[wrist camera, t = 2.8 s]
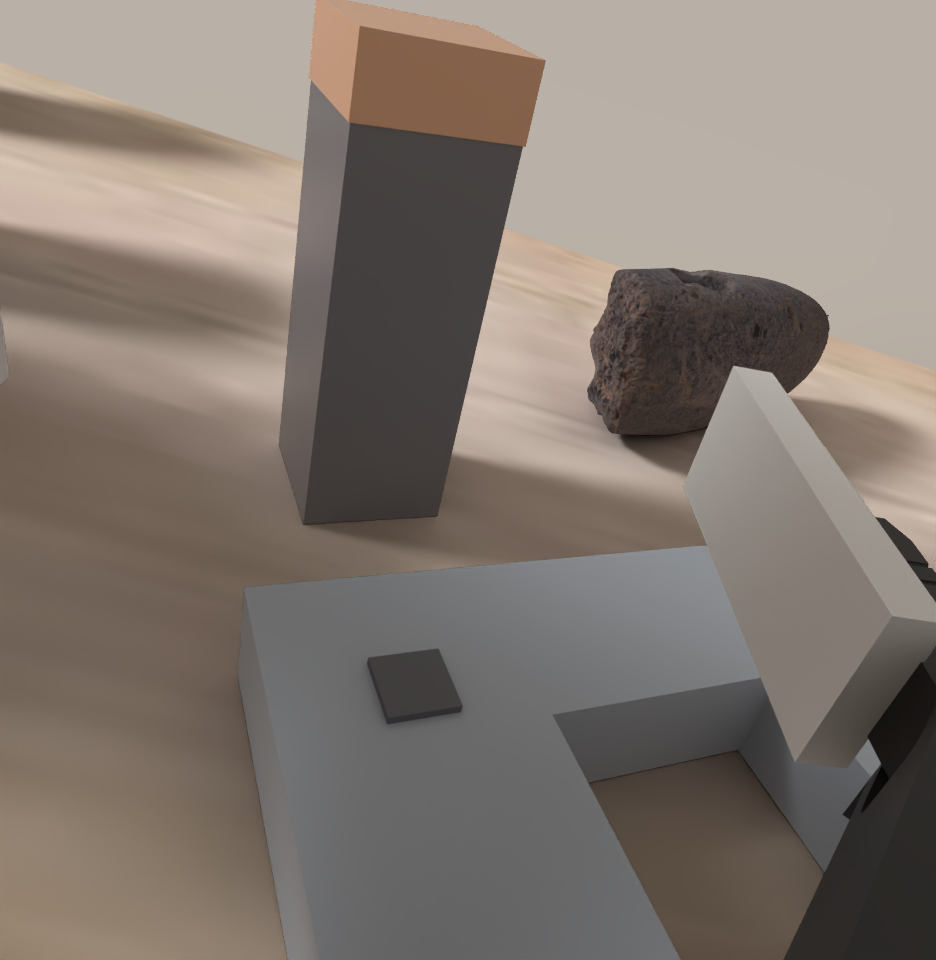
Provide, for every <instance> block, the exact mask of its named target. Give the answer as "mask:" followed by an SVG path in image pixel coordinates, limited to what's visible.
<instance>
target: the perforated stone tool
mask: <svg viewBox="0 0 936 960" xmlns="http://www.w3.org/2000/svg"><path fill="white" fill-rule="evenodd" d="M593 331H594V334H593V335H592V337H591V339H590V347H591V352H592V356H593V359H594V363H595V374H594V378H593V380H592V382H591V383H590V385H589V387H588V390H587V392H588V398H589V400H590V401H591V402H592V403H593V404H594V405H595V408H596V409H597V413H598V414H599V415H602V417H603V420H604V423H605V425H606V426H607V428H608V430H609V431H610V432H611V433H616V434H633V435H673V434H678V433H681V432H688V431H692V430H696V429H701V428H705V427H708V425H709V423H710V421H711V418H712V416H713V413H714V411H715V409H716V406H717V404H718V402H719V399H720V397H721V394H722V392H723V390H724V387H725V385H726V382H727V380H728V378H729V375H730V373H731V371H732V368H733V366H738V367H743V368H748V369H754V370H759V371H765V372H770V373H773V375H774V376H775V377H776V379H777V380H778V382H779V383H780V384H781V386H782V387H783V389H784V390H785V392H786V393H787V394H788V393H789V392H790V391H791V390H793V389H794V388H795V387H796V386H797V385H798V384H800V383H801V382H802V381H803V380H804V379H805V378H806V377H807V376H808V374H809V373H810V372H811V371H812V370H813V368H814V367H815V366H816V364H817V363H818V361H819V359H820V358H821V356H822V353H823V351H824V349H825V346H826V344H827V339H828V332H829V322H828V315H826V313H825V311H824V310H823V309H822V307H821V306H820V305H819V304H818V303H817V302H816V301H815V300H814V299H812V298H811V297H810V296H808V295H806V294H805V293H803V292H801V291H799V290H797V289H794V288H792V287H790V286H787V285H785V284H782V283H779V282H776V281H773V280H769V279H765V278H760V277H753V276H747V275H738V274H731V273H726V272H719V271H713V270H703V271H696V272H688V271H683V270H679V269H675V268H663V269H622V270H618V271H616V273H615V275H614V277H613V280H612V283H611V288H610V291H609V294H608V304H607V307H606V309H605V310H604V314H603V315H602V317H601V319H600V321H599V323H598V324H597V326H596V327H595V328H594V330H593Z"/></svg>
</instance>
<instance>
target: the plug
mask: <svg viewBox="0 0 936 960" xmlns="http://www.w3.org/2000/svg"><path fill="white" fill-rule="evenodd" d="M544 65H545V60H544V59H542V58H540V57H538V56H536V55H534V54H532V53H530V52H528V51H526V50H524V49H522V48H520V47H518V46H516V45H514V44H512V43H510V42H508V41H506V40H504V39H502V38H500V37H498V36H496V35H494V34H492V33H491V32H489V31H486V30H485V29H483V28H480V27H478V26H474V25H469V24H464V23H459V22H453V21H449V20H443V19H438V18H434V17H429V16H423V15H418V14H413V13H408V12H403V11H398V10H393V9H388V8H383V7H378V6H373V5H368V4H363V3H358V2H353V1H347V0H316V3H315V15H314V26H313V38H312V50H311V61H310V73H309V78H310V79H311V87H310V98H309V110H308V121H307V133H306V143H305V156H304V166H303V177H302V188H301V200H300V211H299V222H298V234H297V245H296V256H295V267H294V279H293V290H292V301H291V313H290V324H289V335H288V347H287V358H286V369H285V381H284V392H283V403H282V414H281V426H280V437H279V447H280V450H281V453H282V457H283V460H284V463H285V466H286V470H287V473H288V476H289V479H290V483H291V486H292V489H293V492H294V496H295V499H296V502H297V505H298V509H299V512H300V515H301V518H302V521H303V524H319V523H335V522H351V521H367V520H383V519H398V518H414V517H430V516H437V514H438V510H439V506H440V502H441V497H442V493H443V489H444V484H445V480H446V476H447V471H448V467H449V463H450V458H451V454H452V450H453V445H454V441H455V437H456V433H457V428H458V424H459V420H460V415H461V411H462V407H463V402H464V398H465V394H466V389H467V385H468V381H469V376H470V372H471V368H472V364H473V359H474V355H475V351H476V346H477V342H478V338H479V333H480V329H481V325H482V320H483V316H484V312H485V308H486V303H487V299H488V295H489V290H490V286H491V282H492V277H493V273H494V269H495V264H496V260H497V256H498V251H499V247H500V243H501V239H502V234H503V230H504V226H505V221H506V217H507V213H508V208H509V204H510V199H511V195H512V191H513V187H514V182H515V178H516V174H517V170H518V165H519V160H520V157H521V152H522V148H523V146H526V142H527V138H528V134H529V130H530V125H531V121H532V117H533V113H534V108H535V104H536V100H537V95H538V91H539V87H540V83H541V78H542V74H543V70H544Z"/></svg>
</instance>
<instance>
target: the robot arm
mask: <svg viewBox="0 0 936 960" xmlns="http://www.w3.org/2000/svg"><path fill="white" fill-rule="evenodd" d="M8 377H9V370H8V362H7V355H6V347H5V339H4V332H3V324H2V316H1V309H0V385H1V384H2V383H3V382H4V381H5V380H6V379H7V378H8ZM683 488H684V490H685V493H686V495H687V497H688V500H689V502H690V505H691V507H692V510H693V512H694V515H695V517H696V520H697V522H698V525H699V527H700V530H701V532H702V534H703V537H704V539H705V542H706V544H707V547H708V549H709V552H710V554H711V557H712V559H713V562H714V564H715V567H716V569H717V571H718V574H719V576H720V579H721V581H722V584H723V586H724V589H725V591H726V594H727V596H728V599H729V601H730V604H731V606H732V608H733V611H734V613H735V616H736V618H737V621H738V623H739V626H740V628H741V631H742V633H743V636H744V638H745V641H746V643H747V645H748V648H749V650H750V653H751V655H752V658H753V660H754V663H755V665H756V668H757V670H758V673H759V675H760V678H761V680H762V682H763V685H764V687H765V690H766V692H767V695H768V697H769V700H770V702H771V705H772V707H773V710H774V712H775V715H776V717H777V719H778V722H779V724H780V727H781V729H782V732H783V734H784V737H785V739H786V742H787V744H788V747H789V749H790V752H791V754H792V756H793V759H794V761H795V762H798V763H806V764H814V765H822V766H830V767H838V768H846V769H847V768H848V766H849V765H850V764H851V762H852V761H853V760H854V758H855V757H856V755H857V754H858V753H859V751H860V750H861V749H862V747H863V746H864V744H865V743H866V742H867V740H868V739H869V741H870V743H871V745H872V747H873V749H874V751H875V753H876V755H877V757H878V759H879V761H880V763H881V764H880V766H879V767H878V768H877V770H876V771H875V772H874V774H873V775H872V776H871V778H870V779H869V780H868V781H867V783H866V784H865V785H864V787H863V788H862V789H861V791H860V792H859V793H858V795H857V796H856V797H855V799H854V800H853V801H852V802H851V804H850V805H849V806H848V808H847V809H846V810H845V812H844V813H843V814H842V815H844V816H845V817H846V818H848V819H849V822H848V824H847V827H846V829H845V831H844V833H843V835H842V837H841V839H840V841H839V844H838V846H837V848H836V850H835V852H834V854H833V856H832V858H831V861H830V863H829V865H828V867H827V869H826V871H825V873H824V875H823V878H822V880H821V882H820V884H819V886H818V888H817V890H816V892H815V895H814V897H813V899H812V901H811V903H810V905H809V907H808V909H807V912H806V914H805V916H804V918H803V920H802V922H801V924H800V926H799V929H798V931H797V933H796V935H795V937H794V939H793V941H792V943H791V946H790V948H789V950H788V952H787V954H786V956H785V958H784V960H936V573H935V572H934V570H933V569H932V568H928V562H927V561H926V560H925V558H924V557H923V556H922V554H921V553H920V552H919V550H918V549H917V548H916V546H915V545H914V544H913V542H912V541H911V540H910V539H909V538H907V537H906V536H905V535H904V534H903V533H901V532H900V531H899V530H898V529H896V528H895V527H894V526H893V525H892V524H890V523H889V522H888V521H887V520H886V519H884V518H877V517H875V516H874V515H873V514H872V512H871V511H870V509H869V508H868V507H867V505H866V504H865V502H864V501H863V500H862V498H861V497H860V495H859V494H858V493H857V491H856V490H855V488H854V487H853V486H852V484H851V483H850V481H849V480H848V479H847V477H846V476H845V474H844V473H843V472H842V470H841V469H840V467H839V466H838V465H837V463H836V462H835V460H834V459H833V457H832V456H831V455H830V453H829V452H828V450H827V449H826V448H825V446H824V445H823V443H822V442H821V441H820V439H819V438H818V436H817V435H816V434H815V432H814V431H813V429H812V428H811V427H810V425H809V424H808V422H807V421H806V420H805V418H804V417H803V415H802V414H801V413H800V411H799V410H798V408H797V407H796V406H795V404H794V403H793V401H792V400H791V399H790V397H789V396H788V394H787V393H786V392H785V390H784V389H783V387H782V386H781V384H780V383H779V382H778V380H777V379H776V377H775V376H774V375H773V373H770V372H765V371H759V370H754V369H748V368H743V367H738V366H733V368H732V371H731V373H730V375H729V378H728V380H727V382H726V385H725V387H724V390H723V392H722V394H721V397H720V399H719V402H718V404H717V406H716V409H715V411H714V413H713V416H712V418H711V421H710V423H709V425H708V428H707V430H706V432H705V435H704V437H703V440H702V442H701V444H700V447H699V449H698V451H697V454H696V456H695V459H694V461H693V463H692V466H691V468H690V471H689V473H688V475H687V478H686V480H685V482H684V485H683Z"/></svg>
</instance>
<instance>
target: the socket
mask: <svg viewBox="0 0 936 960" xmlns="http://www.w3.org/2000/svg"><path fill="white" fill-rule="evenodd" d="M238 680H239V685H240V691H241V697H242V702H243V708H244V714H245V719H246V725H247V731H248V736H249V742H250V748H251V753H252V759H253V765H254V770H255V776H256V782H257V787H258V793H259V799H260V805H261V810H262V816H263V822H264V827H265V833H266V839H267V844H268V850H269V856H270V861H271V867H272V873H273V878H274V884H275V890H276V895H277V901H278V907H279V912H280V918H281V924H282V930H283V935H284V941H285V947H286V952H287V958H288V960H681V959H680V957H679V955H678V953H677V951H676V950H675V948H674V946H673V944H672V942H671V940H670V938H669V936H668V934H667V932H666V930H665V929H664V927H663V925H662V923H661V921H660V919H659V917H658V915H657V913H656V911H655V909H654V908H653V906H652V904H651V902H650V900H649V898H648V896H647V894H646V892H645V890H644V888H643V887H642V885H641V883H640V881H639V879H638V877H637V875H636V873H635V871H634V869H633V867H632V866H631V864H630V862H629V860H628V858H627V856H626V854H625V852H624V850H623V848H622V846H621V845H620V843H619V841H618V839H617V837H616V835H615V833H614V831H613V829H612V827H611V825H610V824H609V822H608V820H607V818H606V816H605V814H604V812H603V810H602V808H601V806H600V804H599V803H598V801H597V799H596V797H595V795H594V793H593V791H592V789H591V787H590V785H589V782H594V781H599V780H603V779H608V778H612V777H617V776H621V775H626V774H630V773H635V772H639V771H644V770H648V769H653V768H658V767H662V766H667V765H671V764H676V763H680V762H685V761H689V760H694V759H698V758H703V757H707V756H712V755H717V754H721V753H726V752H730V751H735V750H738V751H739V752H740V753H741V755H742V756H743V758H744V759H745V761H746V762H747V763H748V765H749V766H750V768H751V769H752V770H753V772H754V773H755V775H756V776H757V778H758V779H759V780H760V782H761V783H762V785H763V786H764V788H765V789H766V790H767V792H768V793H769V795H770V796H771V797H772V799H773V800H774V802H775V803H776V805H777V806H778V807H779V809H780V810H781V812H782V813H783V814H784V816H785V817H786V819H787V820H788V822H789V823H790V824H791V826H792V827H793V829H794V830H795V831H796V833H797V834H798V836H799V837H800V839H801V840H802V841H803V843H804V844H805V846H806V847H807V848H808V850H809V851H810V853H811V854H812V856H813V857H814V858H815V860H816V861H817V863H818V864H819V865H820V867H821V868H822V870H823V871H824V873H825V871H826V869H827V867H828V865H829V863H830V861H831V858H832V856H833V854H834V852H835V850H836V848H837V846H838V844H839V841H840V839H841V837H842V835H843V833H844V831H845V829H846V827H847V824H848V822H849V819H848V818H846V817H845V816H844V815H842V814H843V813H844V812H845V810H846V809H847V808H848V806H849V805H850V804H851V802H852V801H853V800H854V799H855V797H856V796H857V795H858V793H859V792H860V791H861V789H862V788H863V787H864V785H865V784H866V783H867V781H868V780H869V779H870V778H871V776H872V775H873V774H874V772H875V771H876V770H877V768H878V767H879V766H880V764H881V763H880V761H879V759H878V757H877V755H876V753H875V751H874V749H873V747H872V745H871V743H870V741H869V739H868V740H867V742H866V743H865V744H864V746H863V747H862V749H861V750H860V751H859V753H858V754H857V755H856V757H855V758H854V760H853V761H852V762H851V764H850V765H849V766H848V768H847V769H846V768H838V767H830V766H822V765H814V764H806V763H798V762H795V761H794V759H793V756H792V754H791V752H790V749H789V747H788V744H787V742H786V739H785V737H784V734H783V732H782V729H781V727H780V724H779V722H778V719H777V717H776V715H775V712H774V710H773V707H772V705H771V702H770V700H769V697H768V695H767V692H766V690H765V687H764V685H763V682H762V680H761V678H760V675H759V673H758V670H757V668H756V665H755V663H754V660H753V658H752V655H751V653H750V650H749V648H748V645H747V643H746V641H745V638H744V636H743V633H742V631H741V628H740V626H739V623H738V621H737V618H736V616H735V613H734V611H733V608H732V606H731V604H730V601H729V599H728V596H727V594H726V591H725V589H724V586H723V584H722V581H721V579H720V576H719V574H718V571H717V569H716V567H715V564H714V562H713V559H712V557H711V554H710V552H709V549H708V547H707V545H701V546H691V547H680V548H669V549H658V550H647V551H636V552H625V553H614V554H603V555H592V556H581V557H570V558H559V559H548V560H537V561H526V562H515V563H504V564H493V565H482V566H471V567H460V568H449V569H439V570H428V571H417V572H406V573H395V574H384V575H373V576H362V577H351V578H340V579H329V580H318V581H307V582H296V583H285V584H274V585H263V586H252V587H244V592H243V607H242V622H241V637H240V652H239V667H238Z"/></svg>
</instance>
